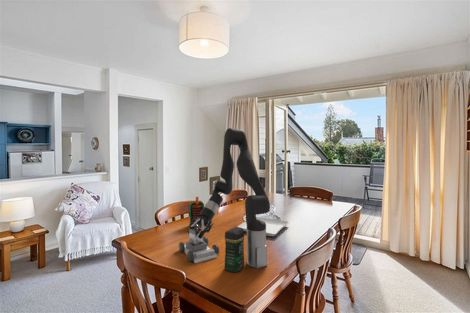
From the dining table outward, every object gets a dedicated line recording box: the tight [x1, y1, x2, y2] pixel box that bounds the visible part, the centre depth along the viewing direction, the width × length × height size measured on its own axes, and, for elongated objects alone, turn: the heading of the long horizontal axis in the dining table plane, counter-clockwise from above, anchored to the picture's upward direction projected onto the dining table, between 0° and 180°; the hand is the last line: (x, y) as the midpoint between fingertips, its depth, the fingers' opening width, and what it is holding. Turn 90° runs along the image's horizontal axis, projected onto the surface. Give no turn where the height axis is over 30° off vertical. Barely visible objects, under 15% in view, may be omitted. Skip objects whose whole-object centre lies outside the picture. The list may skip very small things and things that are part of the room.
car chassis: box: [178, 236, 220, 264], centre depth 134 cm, size 20×15×5 cm
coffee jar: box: [224, 226, 245, 273], centre depth 117 cm, size 10×8×19 cm
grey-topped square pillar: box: [188, 227, 204, 246], centre depth 137 cm, size 5×5×10 cm
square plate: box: [237, 216, 290, 237], centre depth 171 cm, size 27×27×4 cm
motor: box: [189, 196, 205, 224], centre depth 178 cm, size 10×9×20 cm
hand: (194, 236), depth 135 cm, fingers open, 8 cm apart
